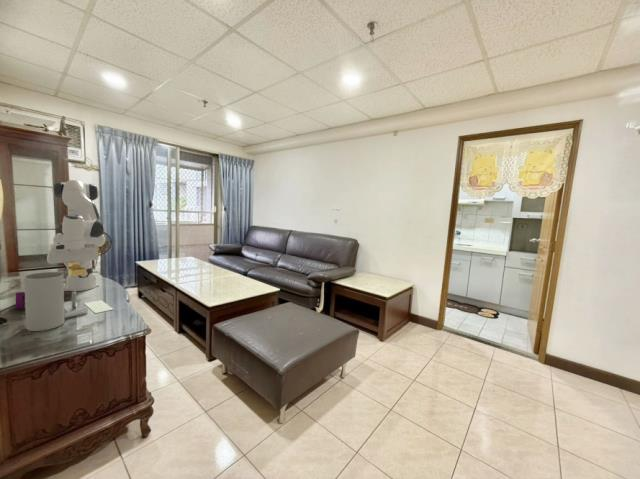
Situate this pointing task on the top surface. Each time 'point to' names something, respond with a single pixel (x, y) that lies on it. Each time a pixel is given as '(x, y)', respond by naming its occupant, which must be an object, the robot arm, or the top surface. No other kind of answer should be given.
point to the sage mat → (98, 306)
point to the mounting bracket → (20, 300)
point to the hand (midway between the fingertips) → (74, 269)
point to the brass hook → (76, 269)
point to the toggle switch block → (74, 307)
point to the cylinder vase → (44, 300)
